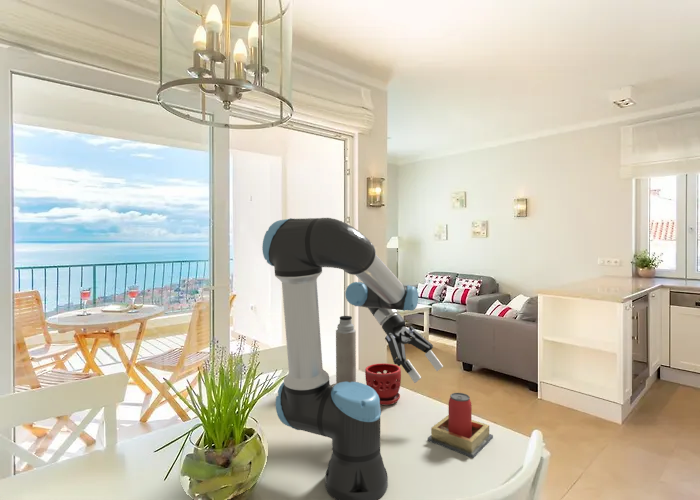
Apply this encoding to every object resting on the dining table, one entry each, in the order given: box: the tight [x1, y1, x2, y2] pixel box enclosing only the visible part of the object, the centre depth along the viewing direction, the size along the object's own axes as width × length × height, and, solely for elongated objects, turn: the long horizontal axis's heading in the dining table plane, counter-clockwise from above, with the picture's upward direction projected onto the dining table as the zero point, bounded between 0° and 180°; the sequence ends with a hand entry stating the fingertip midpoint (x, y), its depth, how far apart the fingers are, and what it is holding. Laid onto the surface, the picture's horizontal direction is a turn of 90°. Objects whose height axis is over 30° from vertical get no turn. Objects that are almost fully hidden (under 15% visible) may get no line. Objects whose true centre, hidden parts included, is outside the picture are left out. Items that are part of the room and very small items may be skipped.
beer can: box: [448, 392, 473, 439], centre depth 115 cm, size 7×7×12 cm
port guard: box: [427, 414, 494, 459], centre depth 115 cm, size 14×14×4 cm
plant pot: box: [364, 362, 402, 406], centre depth 144 cm, size 13×13×12 cm
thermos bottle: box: [335, 315, 357, 385], centre depth 158 cm, size 8×8×28 cm
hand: (429, 374), depth 122 cm, fingers open, 13 cm apart
